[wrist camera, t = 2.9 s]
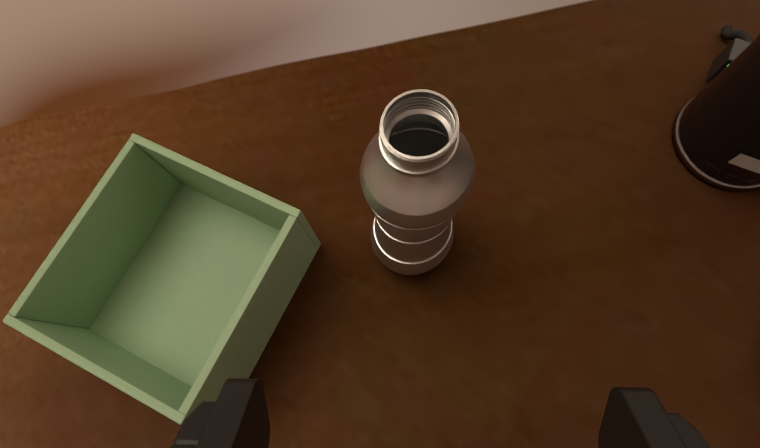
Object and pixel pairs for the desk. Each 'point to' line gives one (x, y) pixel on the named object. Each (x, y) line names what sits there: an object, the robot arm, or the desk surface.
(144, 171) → the storage bin
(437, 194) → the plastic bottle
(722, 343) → the desk surface
